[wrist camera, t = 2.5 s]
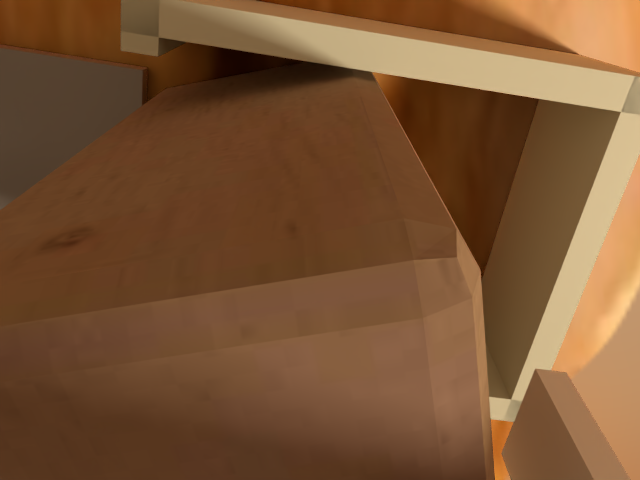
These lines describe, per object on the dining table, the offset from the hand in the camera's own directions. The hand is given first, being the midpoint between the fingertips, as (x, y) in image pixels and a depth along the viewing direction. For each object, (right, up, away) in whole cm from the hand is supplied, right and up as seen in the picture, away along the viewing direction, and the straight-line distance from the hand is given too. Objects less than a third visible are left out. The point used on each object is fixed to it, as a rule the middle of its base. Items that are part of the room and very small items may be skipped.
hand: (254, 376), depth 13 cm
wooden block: (0, +7, +14) cm, 16 cm away
